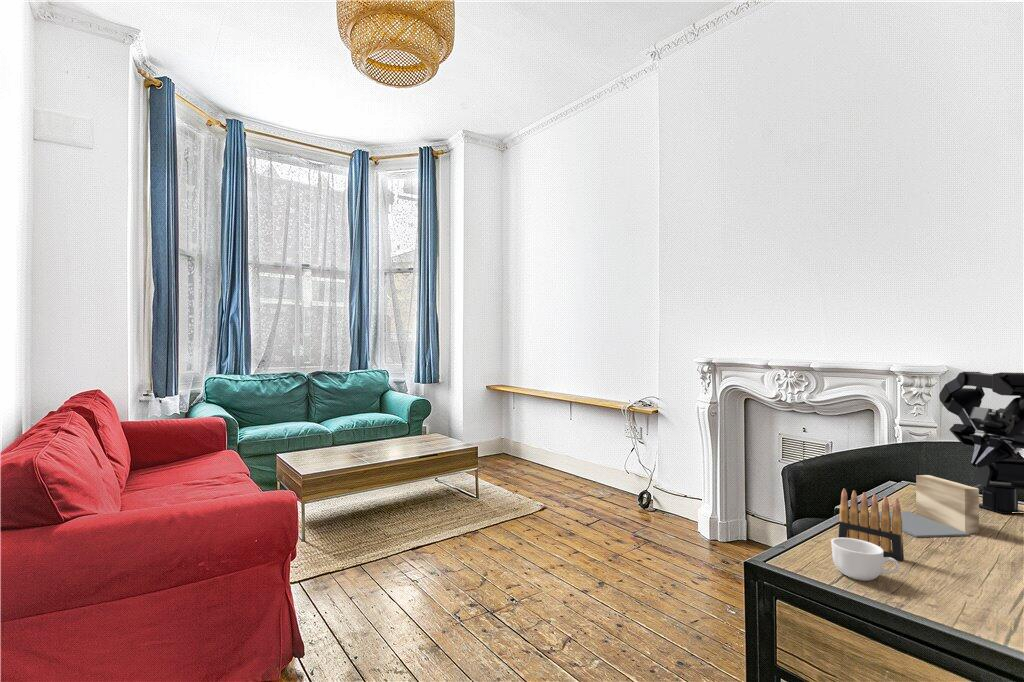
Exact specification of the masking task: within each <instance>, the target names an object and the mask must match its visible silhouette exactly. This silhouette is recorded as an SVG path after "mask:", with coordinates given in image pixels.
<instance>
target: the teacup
mask: <svg viewBox="0 0 1024 682" xmlns="http://www.w3.org/2000/svg"><path fill="white" fill-rule="evenodd" d="M830 544H831V555H832V561H833V563H834V565H835V567H836V568H837V570H838V571H839V572H840V573H842V575H844V576H845V575H846V576H845V577H847V576H848V578H850V579H853V580H856V581H864V582H867V581H872V580H875V579H877V578H878V577H879V576H880V575H884V574H886V575H887V574H888V575H889V574H893V573H897V572H898V571H899V570H900V564H899V561H896V560H895V559H893V558H891V557H883V553H884V551H883V549H882V548H881V546H880V547H879V546H877V545H875V544H873V543H870V541H869V542H866V541H863V540H858V539H853V538H838V537H835V538H831V540H830ZM890 561H891V562H893V563H894V564H895V568H894V569H890V570H888V569H884V568H883V567H884V564H885V563H887V562H890Z"/></svg>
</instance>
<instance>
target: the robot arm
mask: <svg viewBox="0 0 1024 682" xmlns="http://www.w3.org/2000/svg"><path fill="white" fill-rule="evenodd" d="M968 386H969V388H968ZM971 387H974V388H971ZM983 388H984V389H991V390H992V392H993V393H995V394H997V395H999V396H1010V397H1011V396H1015V398H1013V399H1012V400H1011V401H1010V402H1009V404H1007V406H1006V407H1005V408H998V409H993V408H989V407H981V405H982V401H983V399H984V397H985V391H984V389H983ZM938 397H939V402H940V403H941V404H942V405H943V407H944V408H945V409H946V410H947V411H948V412H950V413H951V414H953V415H955V416H957V417H958V418H959V420H960V421H961V422H962V424H961V423H953V425H952V426H951V427H950V428H949V432H950V433H951V434H952V435H953V436H954V437H955V438H956V439H957V440H958V441H959V442H960V443H961V445H964V446H967V447H971V448H973V452H972V458H971V461H970V464H971V466H972V467H973V468H975V467H976V468H977V469H976V471H975V472H974V474H973V477H974V482H975V483H977V484H978V485H980V486H983V488H982V489H983V490H982V501H981V502H982V503H979V508H982V509H986V510H989V511H992V512H995V511H996V513H998V512H1000V513H999V514H1002V513H1012V512H1024V510H1021V509H1019V490H1024V457H1023V456H1022V455H1021V453H1020V452H1019V451H1022V449H1024V372H1003V371H1001V372H996V373H995V372H994V373H984V372H981V371H962V372H959V373H958V374H957V376H956V377H955V378H954V379H951V380H950V381H948V382H947V383H945V384H944V386H943V387H942V389H941V390H940V392H939V394H938Z"/></svg>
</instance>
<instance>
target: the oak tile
mask: <svg viewBox="0 0 1024 682" xmlns="http://www.w3.org/2000/svg"><path fill="white" fill-rule="evenodd" d="M915 481H916V483H915V492H916V493H915V495H916V496H915V501H916V503H915V504H916V506H915V511H916V512H915V514H917V515H920V516H923V517H925V518H928V519H931V520H933V521H936V522H939V523H942V524H944V525H947V526H950V527H952V528H955V529H958V530H961V531H963V532H966V533H969V534H979V533H980V507H979V504H980V489H979V488H977V487H974V486H970V485H966V484H963V483H959V482H956V481H952V480H948V479H945V478H942V477H941V478H940V477H937V476H934V475H930V474H922V475H921V474H920V475H919V474H917V475H915Z"/></svg>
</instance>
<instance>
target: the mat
mask: <svg viewBox="0 0 1024 682" xmlns="http://www.w3.org/2000/svg"><path fill="white" fill-rule="evenodd" d="M881 514H882V511H879V516H880V523H881ZM892 516H893V511H890V518H891V528H892ZM869 517H870V512H869ZM901 519H902V531H903V532H902V533H905V534H907V535H909V536H912V537H914V538H936V537H937V538H938V537H941V538H942V537H943V538H945V537H971V533H966V532H963V531H961V530H958V529H955V528H952V527H950V526H947V525H944V524H942V523H939V522H936V521H933V520H931V519H928V518H925V517H923V516H920V515H917V514H916V513H914V512H911V511H901Z"/></svg>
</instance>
